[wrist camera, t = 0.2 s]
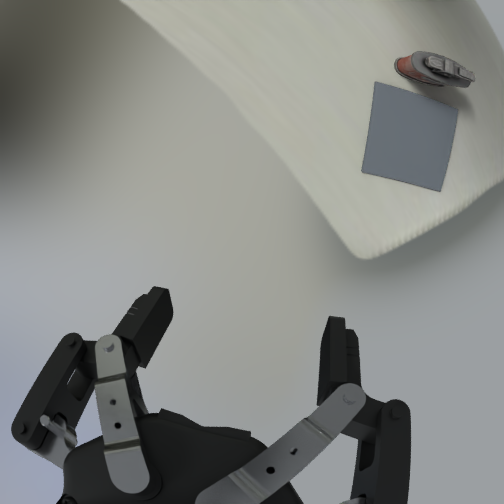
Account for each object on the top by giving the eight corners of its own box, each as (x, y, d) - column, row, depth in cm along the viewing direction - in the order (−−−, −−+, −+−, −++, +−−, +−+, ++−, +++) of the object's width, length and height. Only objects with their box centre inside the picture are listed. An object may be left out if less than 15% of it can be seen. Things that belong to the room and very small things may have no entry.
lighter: (393, 75, 27) (420, 71, 19) (394, 53, 25) (420, 42, 17) (444, 90, 26) (481, 94, 17) (445, 69, 24) (482, 67, 16)
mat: (374, 81, 28) (375, 81, 28) (456, 109, 26) (458, 109, 26) (361, 170, 35) (362, 172, 35) (438, 190, 34) (440, 191, 33)
